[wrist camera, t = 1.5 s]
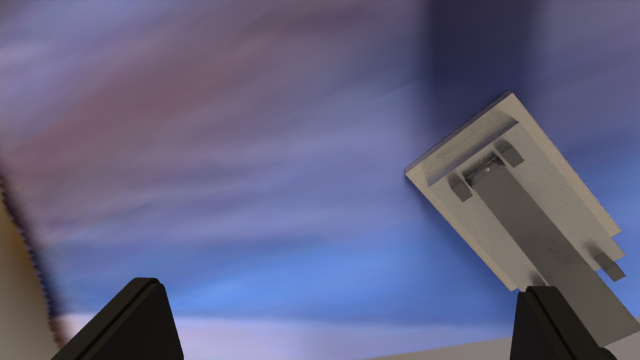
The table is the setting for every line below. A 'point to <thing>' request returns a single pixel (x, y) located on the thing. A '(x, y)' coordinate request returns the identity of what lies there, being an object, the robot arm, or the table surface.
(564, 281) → the strap
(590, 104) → the table surface
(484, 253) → the block
